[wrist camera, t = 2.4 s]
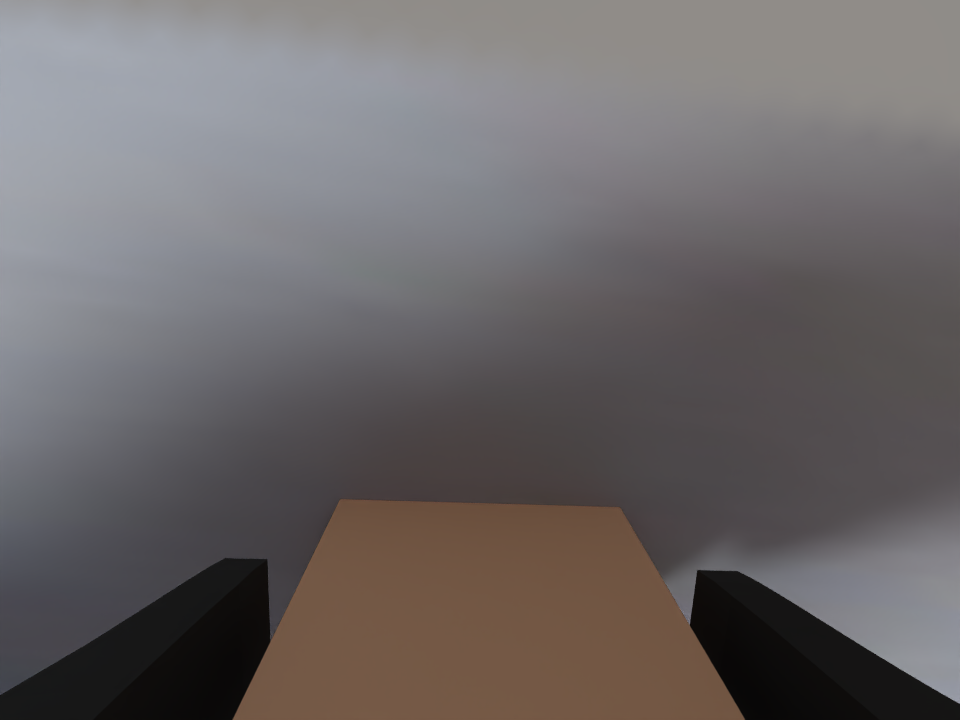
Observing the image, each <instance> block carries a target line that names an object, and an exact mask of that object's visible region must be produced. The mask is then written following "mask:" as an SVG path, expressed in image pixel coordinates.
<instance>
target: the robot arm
mask: <svg viewBox="0 0 960 720" xmlns="http://www.w3.org/2000/svg"><path fill="white" fill-rule="evenodd" d="M690 627H691V629H692V630H693V632H694V634H695V635H696V637H697V639H698V641H699V642H700V644H701V646H702V647H703V649H704V651H705V652H706V654H707V656H708V657H709V659H710V661H711V663H712V664H713V666H714V668H715V669H716V671H717V673H718V674H719V676H720V678H721V680H722V681H723V683H724V685H725V686H726V688H727V690H728V691H729V693H730V695H731V697H732V698H733V700H734V702H735V703H736V705H737V707H738V708H739V710H740V712H741V714H742V715H743V717H744V719H745V720H960V704H959V703H957V702H955V701H953V700H952V699H950V698H948V697H946V696H945V695H943V694H941V693H939V692H938V691H936V690H934V689H932V688H931V687H929V686H927V685H926V684H924V683H922V682H921V681H919V680H917V679H916V678H914V677H912V676H911V675H909V674H907V673H906V672H904V671H902V670H900V669H899V668H897V667H895V666H894V665H892V664H891V663H889V662H887V661H886V660H884V659H882V658H881V657H879V656H877V655H876V654H874V653H873V652H871V651H869V650H868V649H866V648H864V647H863V646H861V645H860V644H858V643H856V642H855V641H853V640H851V639H850V638H848V637H847V636H845V635H843V634H842V633H840V632H839V631H837V630H835V629H834V628H832V627H831V626H829V625H827V624H826V623H824V622H823V621H821V620H819V619H818V618H816V617H815V616H813V615H811V614H810V613H808V612H807V611H805V610H803V609H802V608H800V607H799V606H797V605H795V604H794V603H792V602H791V601H789V600H787V599H786V598H784V597H782V596H781V595H779V594H777V593H776V592H774V591H773V590H771V589H769V588H767V587H766V586H764V585H762V584H761V583H759V582H757V581H755V580H753V579H752V578H750V577H748V576H746V575H744V574H742V573H740V572H738V571H707V570H697V577H696V584H695V592H694V599H693V607H692V614H691V621H690ZM269 644H270V620H269V592H268V564H267V559H234V558H225V559H223V560H221V561H219V562H218V563H216V564H214V565H212V566H210V567H209V568H207V569H205V570H204V571H202V572H200V573H199V574H197V575H196V576H194V577H192V578H191V579H189V580H188V581H186V582H184V583H183V584H181V585H180V586H178V587H177V588H175V589H173V590H172V591H170V592H169V593H167V594H166V595H164V596H163V597H161V598H159V599H158V600H156V601H155V602H153V603H152V604H150V605H149V606H147V607H145V608H144V609H142V610H141V611H139V612H137V613H136V614H134V615H133V616H131V617H130V618H128V619H126V620H125V621H123V622H122V623H120V624H118V625H117V626H115V627H114V628H112V629H111V630H109V631H107V632H106V633H104V634H103V635H101V636H100V637H98V638H96V639H95V640H93V641H92V642H90V643H88V644H87V645H85V646H83V647H82V648H80V649H78V650H76V651H75V652H73V653H71V654H70V655H68V656H66V657H65V658H63V659H61V660H59V661H58V662H56V663H54V664H53V665H51V666H49V667H48V668H46V669H44V670H42V671H41V672H39V673H37V674H36V675H34V676H32V677H31V678H29V679H27V680H25V681H24V682H22V683H20V684H19V685H17V686H15V687H14V688H12V689H10V690H8V691H7V692H5V693H3V694H2V695H0V720H233V718H234V716H235V714H236V712H237V710H238V708H239V706H240V704H241V701H242V699H243V697H244V695H245V693H246V691H247V689H248V687H249V685H250V683H251V681H252V679H253V677H254V675H255V673H256V671H257V669H258V667H259V665H260V662H261V660H262V658H263V656H264V654H265V652H266V650H267V648H268V646H269Z"/></svg>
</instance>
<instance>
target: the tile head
mask: <svg viewBox="0 0 960 720" xmlns="http://www.w3.org/2000/svg"><path fill="white" fill-rule="evenodd" d="M233 720H745V719H744V717H743V715H742V714H741V712H740V710H739V708H738V707H737V705H736V703H735V702H734V700H733V698H732V697H731V695H730V693H729V691H728V690H727V688H726V686H725V685H724V683H723V681H722V680H721V678H720V676H719V674H718V673H717V671H716V669H715V668H714V666H713V664H712V663H711V661H710V659H709V657H708V656H707V654H706V652H705V651H704V649H703V647H702V646H701V644H700V642H699V641H698V639H697V637H696V635H695V634H694V632H693V630H692V629H691V627H690V625H689V624H688V622H687V620H686V618H685V617H684V615H683V613H682V612H681V610H680V608H679V607H678V605H677V603H676V601H675V600H674V598H673V596H672V595H671V593H670V591H669V590H668V588H667V586H666V584H665V583H664V581H663V579H662V578H661V576H660V574H659V573H658V571H657V569H656V568H655V566H654V564H653V562H652V561H651V559H650V557H649V556H648V554H647V552H646V551H645V549H644V547H643V545H642V544H641V542H640V540H639V539H638V537H637V535H636V534H635V532H634V530H633V528H632V527H631V525H630V523H629V522H628V520H627V518H626V517H625V515H624V513H623V512H622V510H621V508H620V507H597V506H563V505H528V504H494V503H459V502H424V501H389V500H354V499H340V500H339V502H338V504H337V507H336V509H335V511H334V513H333V515H332V517H331V519H330V521H329V523H328V525H327V527H326V529H325V531H324V533H323V535H322V537H321V539H320V541H319V543H318V546H317V548H316V550H315V552H314V554H313V556H312V558H311V560H310V562H309V564H308V566H307V568H306V570H305V572H304V574H303V576H302V578H301V580H300V582H299V585H298V587H297V589H296V591H295V593H294V595H293V597H292V599H291V601H290V603H289V605H288V607H287V609H286V611H285V613H284V615H283V617H282V619H281V621H280V623H279V626H278V628H277V630H276V632H275V634H274V636H273V638H272V640H271V642H270V644H269V646H268V648H267V650H266V652H265V654H264V656H263V658H262V660H261V662H260V665H259V667H258V669H257V671H256V673H255V675H254V677H253V679H252V681H251V683H250V685H249V687H248V689H247V691H246V693H245V695H244V697H243V699H242V701H241V704H240V706H239V708H238V710H237V712H236V714H235V716H234V718H233Z"/></svg>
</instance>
